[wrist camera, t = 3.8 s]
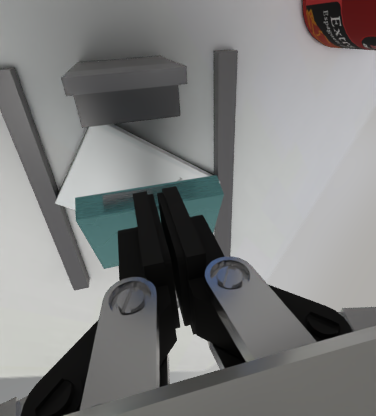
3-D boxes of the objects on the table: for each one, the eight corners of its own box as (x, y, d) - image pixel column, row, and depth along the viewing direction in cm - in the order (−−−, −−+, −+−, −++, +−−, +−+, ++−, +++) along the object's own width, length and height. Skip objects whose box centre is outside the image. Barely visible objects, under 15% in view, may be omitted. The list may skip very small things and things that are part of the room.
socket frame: (-9, 69, 19) (-79, 90, 12) (231, 49, 22) (290, 57, 15) (75, 282, 30) (65, 357, 23) (226, 250, 33) (258, 308, 26)
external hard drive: (94, 112, 22) (216, 176, 27) (56, 195, 25) (174, 238, 30) (93, 117, 20) (222, 183, 26) (53, 205, 23) (177, 247, 29)
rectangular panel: (75, 195, 11) (75, 222, 10) (215, 173, 11) (224, 196, 11) (131, 306, 26) (133, 319, 25) (190, 292, 27) (193, 305, 26)
